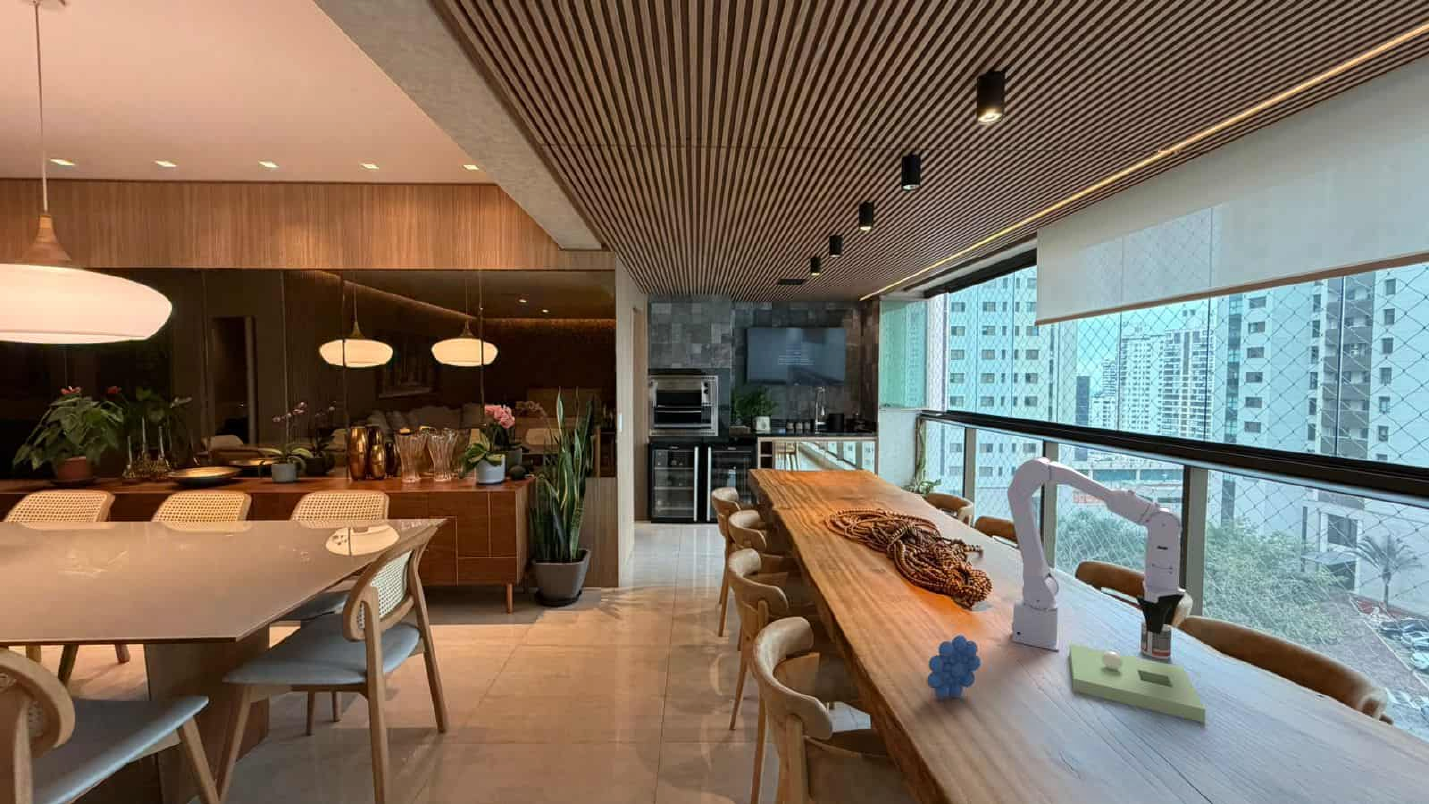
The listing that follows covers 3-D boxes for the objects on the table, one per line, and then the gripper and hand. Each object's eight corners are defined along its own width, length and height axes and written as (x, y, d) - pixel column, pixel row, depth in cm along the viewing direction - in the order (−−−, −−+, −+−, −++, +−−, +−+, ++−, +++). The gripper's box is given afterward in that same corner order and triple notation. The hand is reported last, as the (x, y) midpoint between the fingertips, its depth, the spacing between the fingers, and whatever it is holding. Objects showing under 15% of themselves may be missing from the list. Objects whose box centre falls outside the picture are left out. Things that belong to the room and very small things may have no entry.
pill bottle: (1174, 656, 125) (1175, 613, 125) (1165, 662, 122) (1166, 619, 122) (1145, 646, 130) (1147, 606, 130) (1136, 652, 127) (1137, 610, 127)
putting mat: (1073, 690, 110) (1073, 678, 110) (1069, 654, 125) (1069, 643, 125) (1204, 723, 100) (1205, 709, 100) (1182, 679, 115) (1183, 667, 115)
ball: (1102, 670, 113) (1102, 653, 113) (1100, 663, 116) (1101, 646, 116) (1123, 674, 112) (1123, 657, 111) (1121, 667, 115) (1121, 651, 114)
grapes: (963, 682, 112) (964, 624, 112) (987, 700, 106) (989, 638, 106) (913, 689, 109) (915, 630, 109) (936, 708, 103) (937, 645, 103)
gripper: (1176, 576, 109) (1173, 644, 110) (1195, 563, 118) (1192, 626, 118) (1133, 567, 115) (1130, 631, 115) (1154, 555, 124) (1152, 615, 124)
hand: (1159, 628), depth 117 cm, fingers open, 7 cm apart
